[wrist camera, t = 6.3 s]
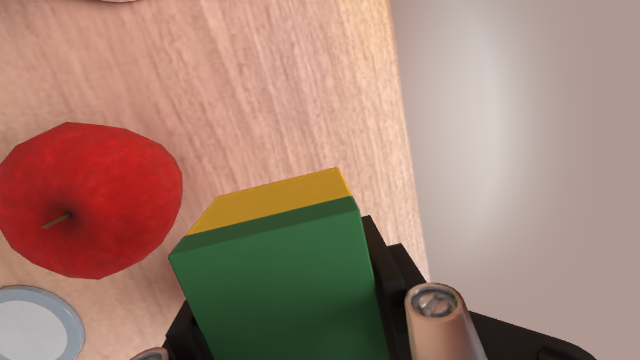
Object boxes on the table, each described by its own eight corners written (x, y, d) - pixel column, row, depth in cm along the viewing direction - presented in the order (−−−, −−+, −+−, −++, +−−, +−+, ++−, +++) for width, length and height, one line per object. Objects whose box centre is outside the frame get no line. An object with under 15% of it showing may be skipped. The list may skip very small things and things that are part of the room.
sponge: (216, 195, 10) (165, 255, 7) (338, 165, 10) (359, 209, 6) (272, 348, 12) (258, 463, 9) (374, 324, 12) (406, 428, 9)
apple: (109, 95, 24) (-46, 94, 13) (222, 149, 25) (162, 185, 15) (76, 200, 26) (-81, 269, 15) (181, 243, 27) (103, 333, 17)
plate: (-29, 277, 28) (-37, 282, 27) (84, 293, 28) (80, 297, 28) (-19, 363, 30) (-26, 368, 29) (85, 374, 31) (81, 379, 30)
